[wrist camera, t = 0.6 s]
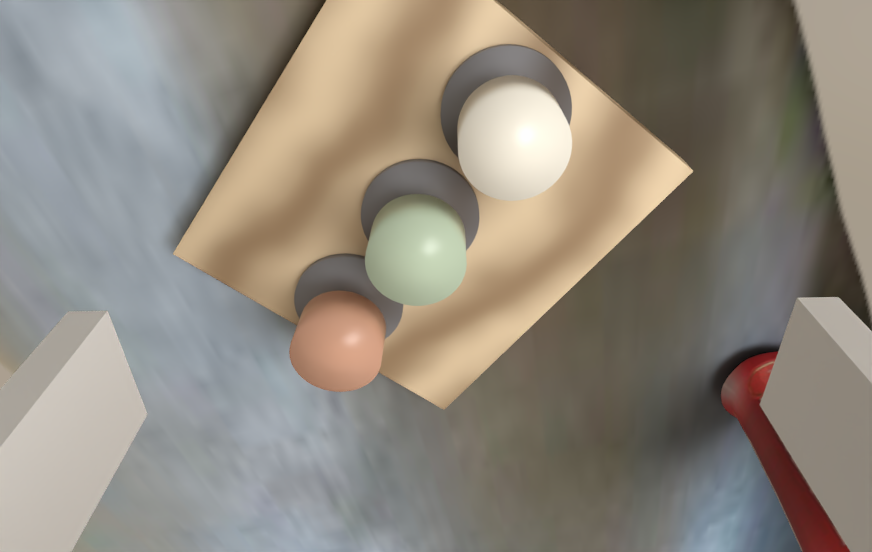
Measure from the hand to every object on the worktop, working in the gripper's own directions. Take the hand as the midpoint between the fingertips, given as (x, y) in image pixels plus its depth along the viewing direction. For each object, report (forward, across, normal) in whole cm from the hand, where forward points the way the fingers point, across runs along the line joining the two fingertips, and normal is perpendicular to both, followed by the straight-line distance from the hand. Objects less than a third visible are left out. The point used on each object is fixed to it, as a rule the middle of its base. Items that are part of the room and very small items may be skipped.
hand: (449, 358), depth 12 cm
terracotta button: (+21, -7, -15) cm, 27 cm away
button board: (+26, -2, -9) cm, 28 cm away
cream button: (+21, +3, -3) cm, 22 cm away
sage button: (+21, -2, -9) cm, 23 cm away
